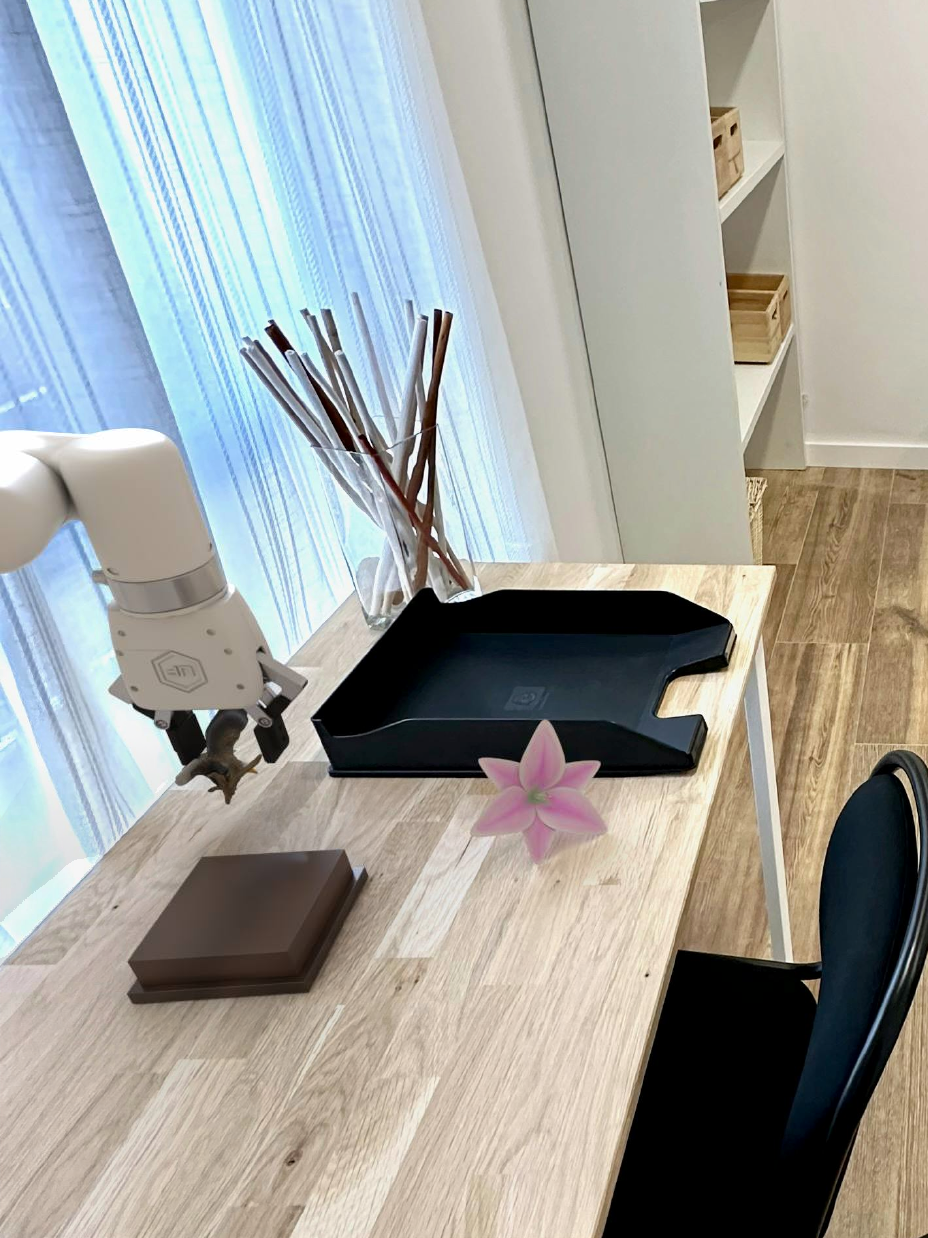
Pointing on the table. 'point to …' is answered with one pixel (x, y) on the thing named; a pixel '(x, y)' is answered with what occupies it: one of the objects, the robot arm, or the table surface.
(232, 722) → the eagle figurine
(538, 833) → the lily
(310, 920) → the display stand
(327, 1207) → the table surface
